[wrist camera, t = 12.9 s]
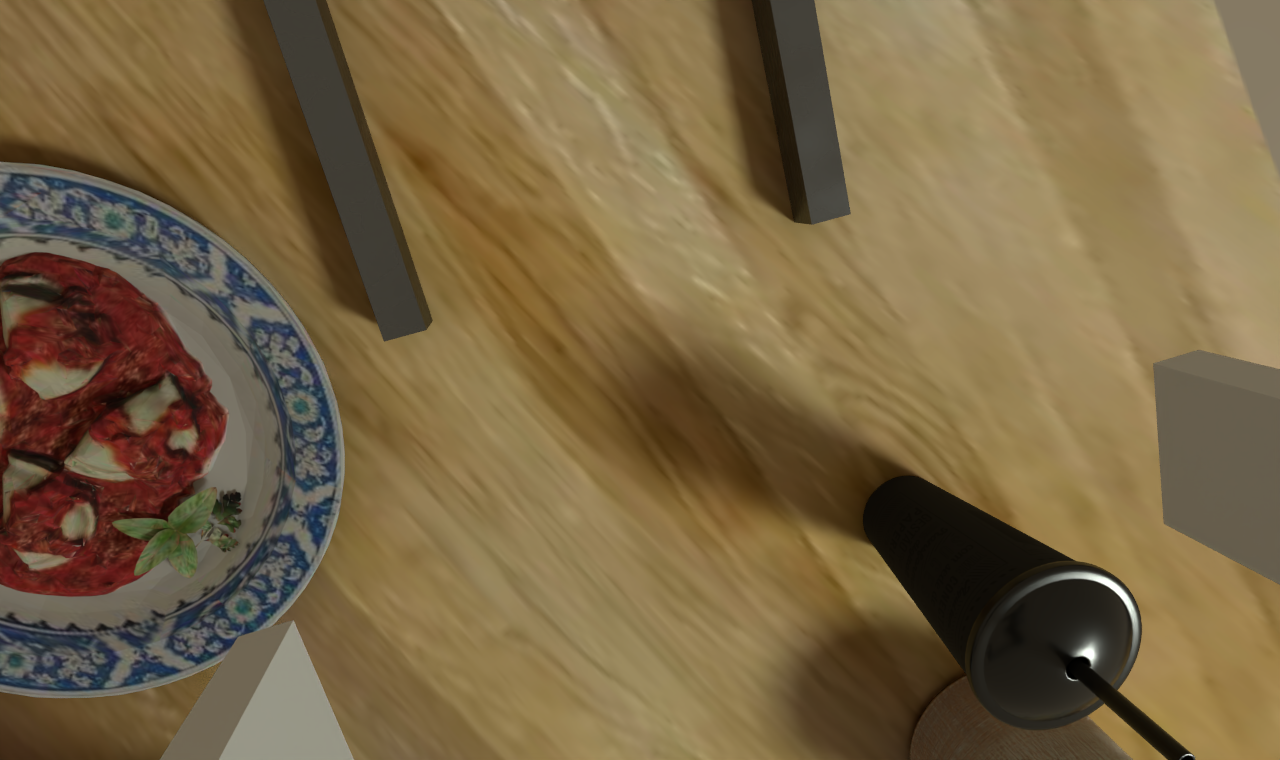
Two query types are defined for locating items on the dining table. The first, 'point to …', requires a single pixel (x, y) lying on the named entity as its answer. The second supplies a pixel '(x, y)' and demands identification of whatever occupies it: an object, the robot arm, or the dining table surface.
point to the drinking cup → (1013, 611)
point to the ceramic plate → (147, 441)
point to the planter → (1000, 734)
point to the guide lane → (366, 195)
